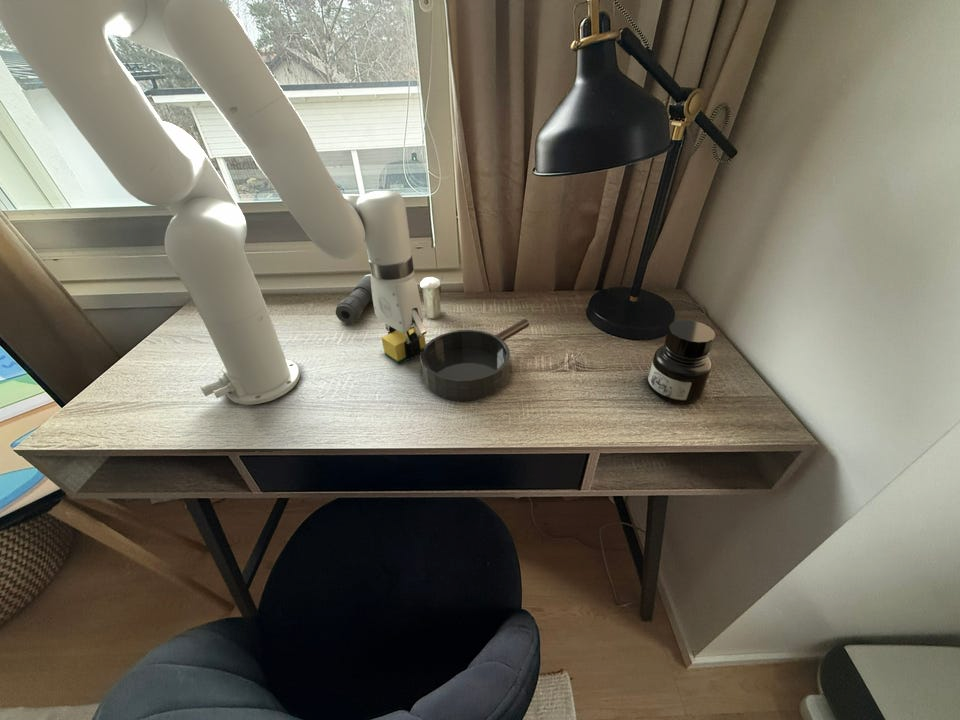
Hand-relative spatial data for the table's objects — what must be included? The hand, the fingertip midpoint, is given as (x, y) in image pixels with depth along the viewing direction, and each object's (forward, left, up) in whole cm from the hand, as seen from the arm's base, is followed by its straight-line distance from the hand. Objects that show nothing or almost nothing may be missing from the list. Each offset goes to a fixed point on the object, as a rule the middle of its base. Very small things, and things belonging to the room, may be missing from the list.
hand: (405, 350), depth 85 cm
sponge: (0, 0, -1) cm, 1 cm away
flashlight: (+4, +23, -1) cm, 23 cm away
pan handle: (+16, -14, +2) cm, 22 cm away
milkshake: (+14, +7, -1) cm, 15 cm away
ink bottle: (+26, -44, -1) cm, 51 cm away
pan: (+4, -14, 0) cm, 14 cm away
